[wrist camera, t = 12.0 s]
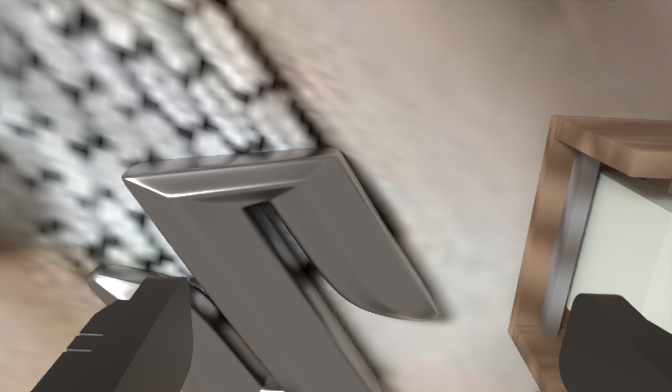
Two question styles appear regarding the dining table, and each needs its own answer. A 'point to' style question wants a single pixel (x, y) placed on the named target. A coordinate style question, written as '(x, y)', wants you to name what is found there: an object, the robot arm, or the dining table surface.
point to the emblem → (271, 267)
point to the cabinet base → (574, 223)
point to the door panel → (627, 246)
